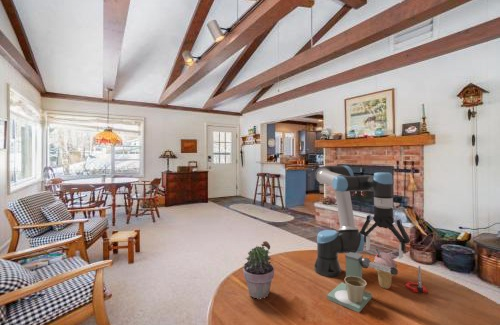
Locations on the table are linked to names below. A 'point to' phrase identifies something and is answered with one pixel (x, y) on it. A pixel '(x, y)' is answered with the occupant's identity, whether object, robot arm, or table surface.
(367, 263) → the lever
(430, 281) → the table surface
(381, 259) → the ice cream cone
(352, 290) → the flower pot
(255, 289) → the potted plant
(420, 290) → the tow hook
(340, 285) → the press
